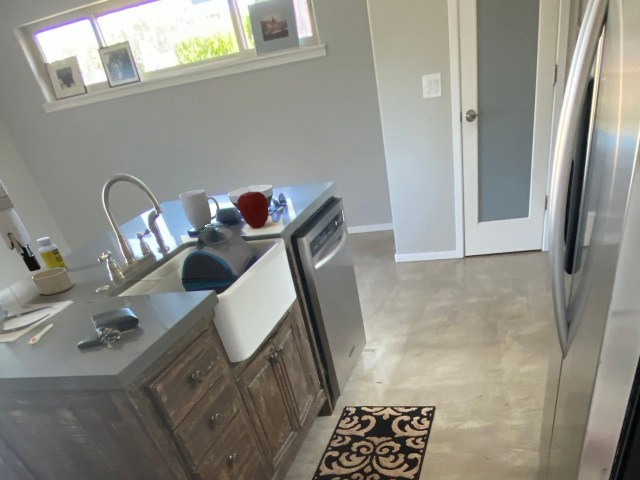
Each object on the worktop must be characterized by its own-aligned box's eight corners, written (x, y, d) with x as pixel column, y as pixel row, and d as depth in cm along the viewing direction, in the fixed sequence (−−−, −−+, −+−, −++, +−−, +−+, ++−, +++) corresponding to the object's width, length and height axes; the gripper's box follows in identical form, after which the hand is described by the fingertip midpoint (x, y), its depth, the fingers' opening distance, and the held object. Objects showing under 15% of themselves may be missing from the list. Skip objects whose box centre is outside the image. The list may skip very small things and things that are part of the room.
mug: (220, 220, 230) (210, 186, 222) (226, 224, 223) (216, 189, 214) (187, 228, 226) (176, 194, 217) (193, 232, 218) (181, 197, 210)
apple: (277, 221, 214) (268, 184, 205) (265, 230, 206) (256, 191, 197) (251, 223, 218) (241, 187, 209) (239, 231, 209) (228, 194, 201)
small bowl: (37, 298, 174) (27, 281, 170) (43, 288, 182) (34, 272, 179) (71, 290, 176) (62, 274, 172) (76, 281, 184) (67, 265, 180)
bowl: (265, 219, 220) (258, 194, 214) (226, 221, 226) (219, 197, 220) (285, 207, 233) (279, 183, 227) (248, 210, 239) (241, 186, 233)
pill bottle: (60, 274, 194) (43, 240, 186) (47, 275, 195) (29, 242, 188) (72, 268, 198) (55, 235, 191) (58, 269, 200) (41, 236, 192)
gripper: (-8, 203, 157) (28, 266, 169) (-22, 212, 146) (18, 279, 158) (18, 197, 158) (52, 261, 170) (6, 206, 147) (43, 273, 159)
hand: (35, 269), depth 164 cm, fingers closed
